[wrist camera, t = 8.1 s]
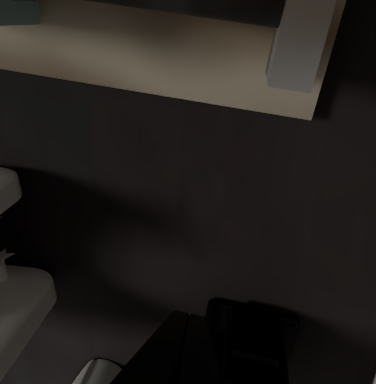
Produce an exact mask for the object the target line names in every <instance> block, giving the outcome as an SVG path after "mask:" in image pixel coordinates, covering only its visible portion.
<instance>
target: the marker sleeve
mask: <svg viewBox="0 0 376 384" xmlns="http://www.w3.org/2000/svg"><path fill="white" fill-rule="evenodd" d="M37 24H40V10H39V2H35V1H28V0H0V26H8V25H37Z"/></svg>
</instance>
